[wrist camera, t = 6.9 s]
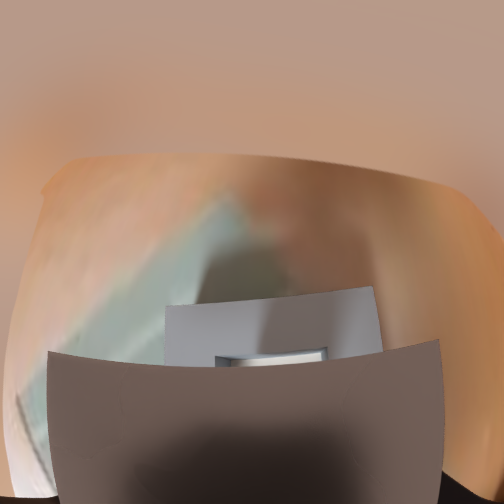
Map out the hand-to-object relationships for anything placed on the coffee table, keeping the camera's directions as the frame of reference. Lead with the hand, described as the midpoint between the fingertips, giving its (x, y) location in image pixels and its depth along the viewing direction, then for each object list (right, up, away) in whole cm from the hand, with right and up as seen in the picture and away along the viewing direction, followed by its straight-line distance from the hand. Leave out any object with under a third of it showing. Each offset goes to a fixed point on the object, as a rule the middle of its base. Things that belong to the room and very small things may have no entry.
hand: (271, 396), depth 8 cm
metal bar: (+1, -4, +5) cm, 7 cm away
